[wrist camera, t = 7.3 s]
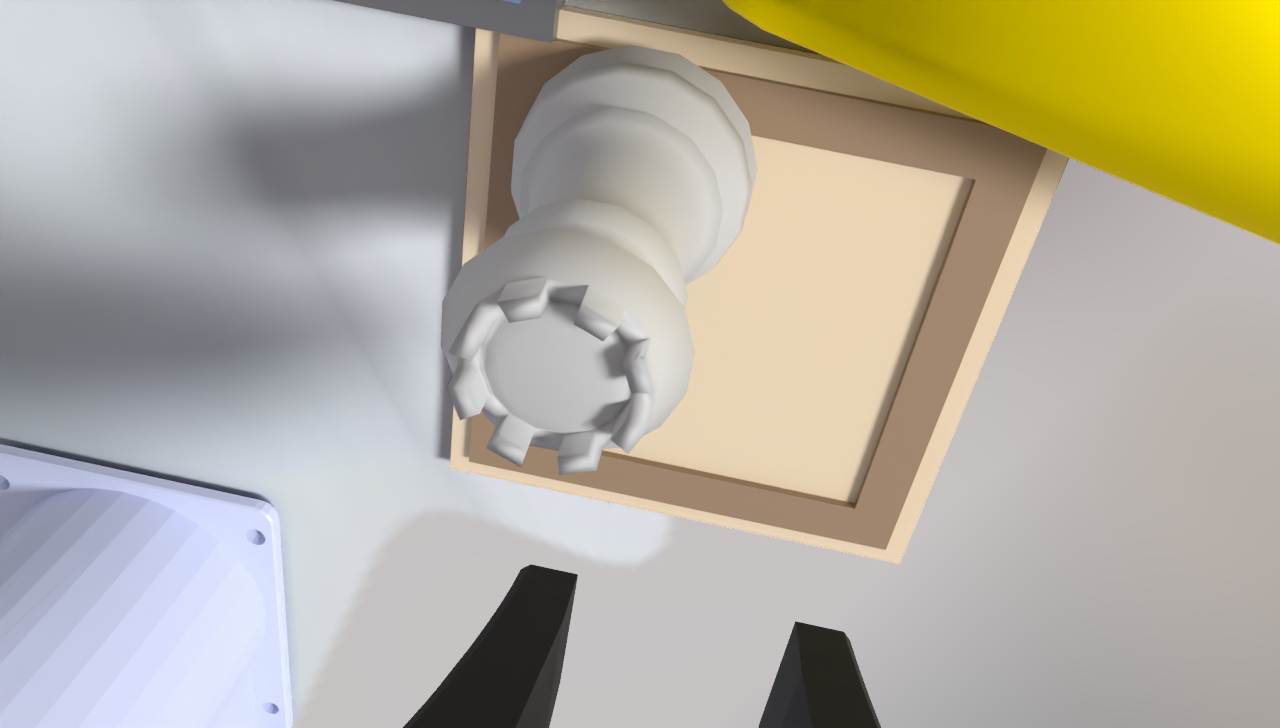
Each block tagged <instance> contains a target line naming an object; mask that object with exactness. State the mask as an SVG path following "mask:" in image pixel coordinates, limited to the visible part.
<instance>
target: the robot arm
mask: <svg viewBox="0 0 1280 728" xmlns="http://www.w3.org/2000/svg"><path fill="white" fill-rule="evenodd" d="M256 530H257V531H259V532H261V533H262V534H261V533H258V532H257V531H256ZM0 537H1V538H0V728H292V726H293V712H292V697H291V683H290V668H289V653H288V639H287V624H286V609H285V595H284V580H283V565H282V551H281V536H280V521H279V516H278V512H277V511H276V510H275V509H274V507H273V506H272V505H270V504H269V503H267V502H265V501H262V500H258V499H254V498H249V497H244V496H240V495H235V494H230V493H226V492H221V491H216V490H212V489H207V488H202V487H198V486H193V485H188V484H184V483H179V482H175V481H170V480H165V479H161V478H156V477H151V476H147V475H142V474H137V473H133V472H128V471H123V470H119V469H114V468H109V467H105V466H100V465H95V464H91V463H86V462H82V461H77V460H72V459H68V458H63V457H58V456H54V455H49V454H44V453H40V452H35V451H30V450H26V449H21V448H16V447H12V446H7V445H3V444H0ZM577 576H578V575H577V574H572V573H568V572H563V571H558V570H554V569H549V568H544V567H540V566H535V565H529V566H527V567H525V568H523V569H521V570H520V572H519V574H518V576H517V578H516V580H515V581H514V583H513V585H512V587H511V588H510V590H509V592H508V593H507V595H506V596H505V598H504V600H503V601H502V603H501V604H500V606H499V608H498V609H497V610H496V612H495V613H494V615H493V616H492V618H491V619H490V621H489V622H488V623H487V625H486V626H485V628H484V629H483V630H482V632H481V633H480V635H479V636H478V637H477V639H476V640H475V641H474V643H473V644H472V646H471V647H470V648H469V649H468V651H467V652H466V653H465V654H464V656H463V657H462V658H461V659H460V661H459V662H458V663H457V664H456V666H455V667H454V668H453V669H452V671H451V672H450V673H449V674H448V676H447V677H446V678H445V680H444V681H443V682H442V683H441V685H440V686H439V687H438V688H437V690H436V691H435V692H434V693H433V694H432V695H431V697H430V698H429V699H428V700H427V701H426V703H425V704H424V705H423V706H422V707H421V708H420V709H419V710H418V712H417V713H416V714H415V715H414V716H413V717H412V718H411V719H410V720H409V721H408V723H407V724H406V725H405V726H404V727H403V728H549V725H550V721H551V717H552V713H553V709H554V705H555V700H556V696H557V692H558V688H559V684H560V679H561V673H562V667H563V661H564V655H565V648H566V643H567V636H568V631H569V625H570V619H571V612H572V607H573V600H574V594H575V588H576V582H577ZM759 728H881V726H880V724H879V721H878V719H877V716H876V713H875V711H874V708H873V706H872V703H871V700H870V698H869V695H868V692H867V690H866V687H865V684H864V681H863V678H862V676H861V673H860V670H859V667H858V664H857V661H856V658H855V655H854V652H853V649H852V646H851V642H850V640H849V639H848V637H847V636H846V634H845V633H844V632H842V631H837V630H832V629H827V628H823V627H818V626H814V625H809V624H805V623H800V622H795V625H794V627H793V630H792V633H791V636H790V639H789V642H788V644H787V647H786V650H785V653H784V656H783V659H782V661H781V664H780V667H779V670H778V673H777V676H776V679H775V682H774V684H773V687H772V690H771V693H770V696H769V699H768V701H767V704H766V707H765V710H764V713H763V716H762V719H761V721H760V724H759Z"/></svg>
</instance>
